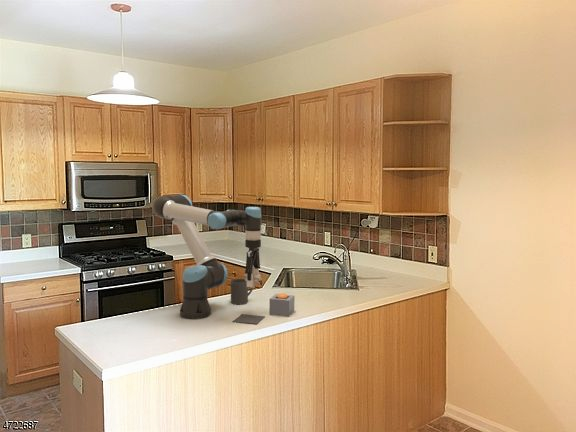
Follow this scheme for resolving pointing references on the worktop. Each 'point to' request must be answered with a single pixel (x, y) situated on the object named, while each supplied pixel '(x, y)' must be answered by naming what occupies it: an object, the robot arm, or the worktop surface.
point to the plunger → (281, 296)
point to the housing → (282, 305)
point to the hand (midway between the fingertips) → (252, 284)
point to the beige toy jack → (254, 277)
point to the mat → (248, 319)
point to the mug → (239, 291)
